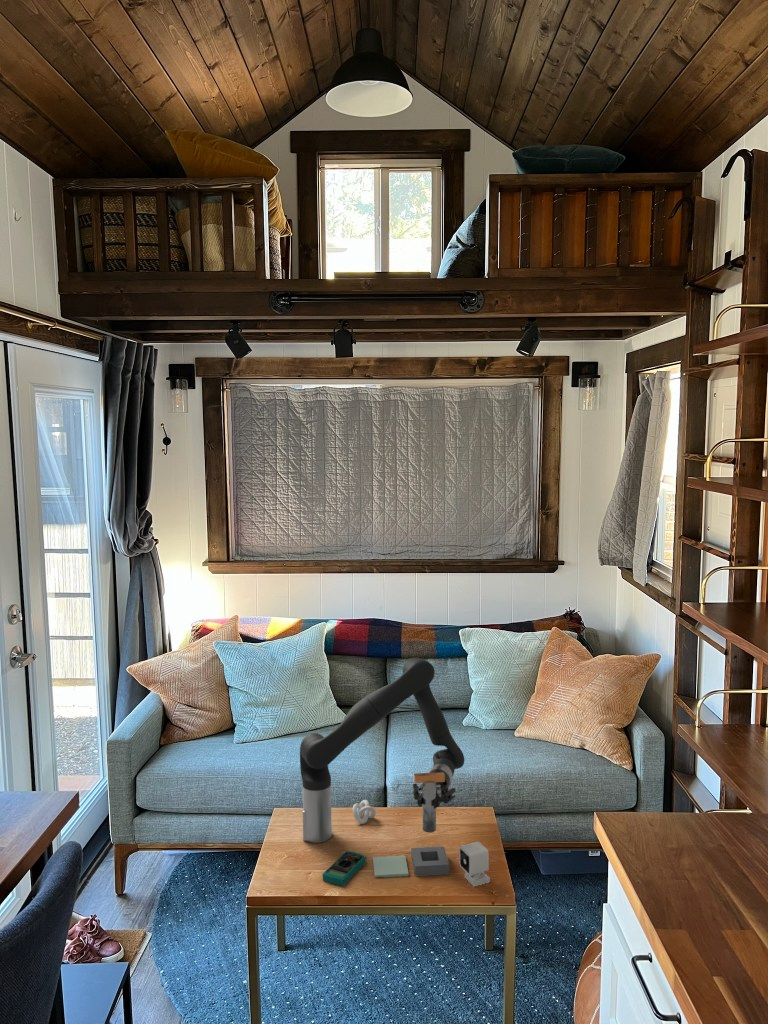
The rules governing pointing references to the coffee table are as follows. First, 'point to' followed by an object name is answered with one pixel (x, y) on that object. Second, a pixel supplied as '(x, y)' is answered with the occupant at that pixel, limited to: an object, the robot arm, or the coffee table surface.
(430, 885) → the coffee table surface
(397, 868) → the pad
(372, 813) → the knot
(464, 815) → the coffee table surface
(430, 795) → the t key
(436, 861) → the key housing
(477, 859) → the security camera
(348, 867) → the digital multimeter
